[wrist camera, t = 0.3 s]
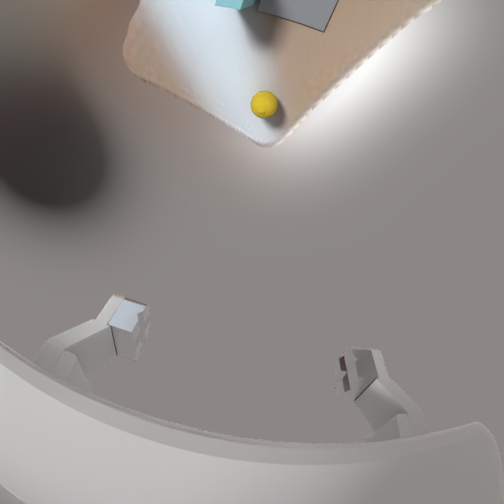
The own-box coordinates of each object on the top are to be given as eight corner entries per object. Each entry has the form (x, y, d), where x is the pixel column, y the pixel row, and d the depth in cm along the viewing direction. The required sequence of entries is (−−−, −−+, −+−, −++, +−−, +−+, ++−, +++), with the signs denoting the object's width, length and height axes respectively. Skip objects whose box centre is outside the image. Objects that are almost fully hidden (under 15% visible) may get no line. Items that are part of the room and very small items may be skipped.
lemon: (254, 85, 50) (247, 99, 46) (280, 87, 49) (276, 102, 45) (253, 106, 55) (247, 122, 50) (278, 109, 54) (274, 125, 50)
